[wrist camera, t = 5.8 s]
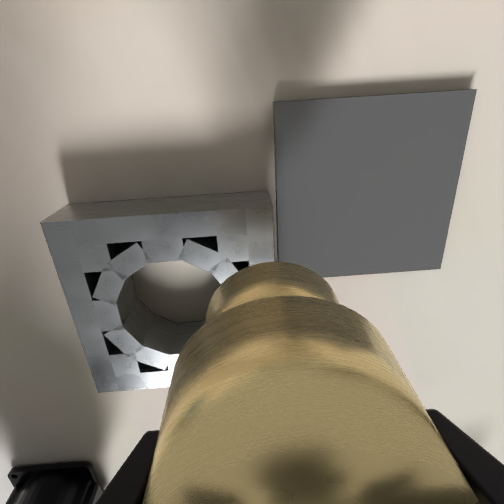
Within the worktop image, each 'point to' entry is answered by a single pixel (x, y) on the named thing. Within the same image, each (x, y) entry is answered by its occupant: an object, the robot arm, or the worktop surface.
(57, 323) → the worktop surface
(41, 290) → the worktop surface
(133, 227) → the housing
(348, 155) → the mat
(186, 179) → the worktop surface
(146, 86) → the worktop surface
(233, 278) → the end cover
